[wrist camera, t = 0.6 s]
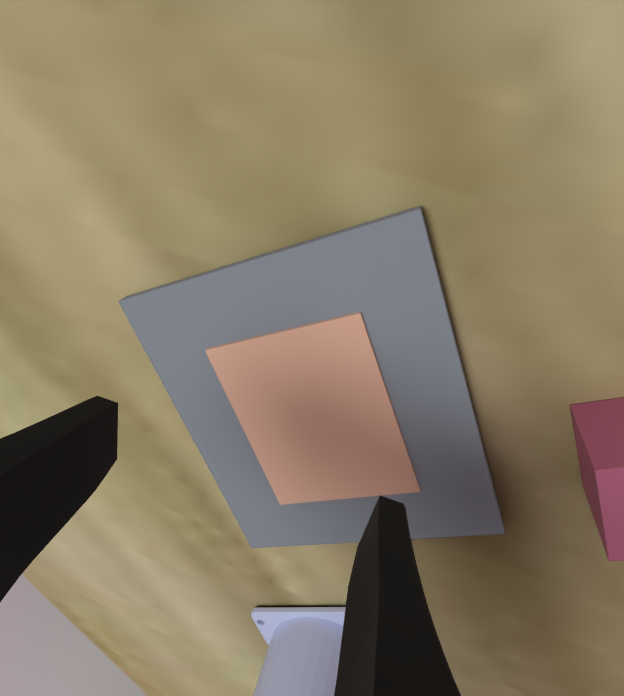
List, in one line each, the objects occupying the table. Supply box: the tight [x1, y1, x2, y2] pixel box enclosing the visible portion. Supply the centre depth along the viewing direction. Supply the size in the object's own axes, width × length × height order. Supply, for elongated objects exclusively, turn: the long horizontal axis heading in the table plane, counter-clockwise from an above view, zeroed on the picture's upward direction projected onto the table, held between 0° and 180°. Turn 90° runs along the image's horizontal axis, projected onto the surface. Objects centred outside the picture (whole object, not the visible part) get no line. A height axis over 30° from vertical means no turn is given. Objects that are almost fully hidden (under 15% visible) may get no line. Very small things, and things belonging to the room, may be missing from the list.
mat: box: [118, 206, 505, 548], centre depth 23 cm, size 16×14×1 cm
